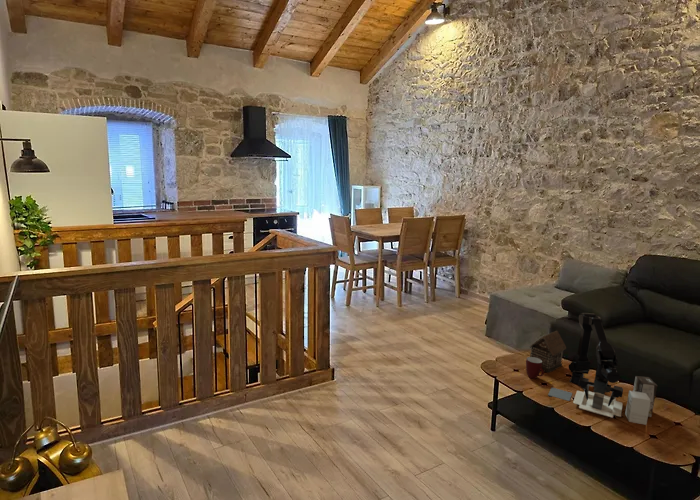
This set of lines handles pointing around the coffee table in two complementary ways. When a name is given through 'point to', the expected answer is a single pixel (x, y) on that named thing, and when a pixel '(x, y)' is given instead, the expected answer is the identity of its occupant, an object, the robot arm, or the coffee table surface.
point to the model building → (549, 351)
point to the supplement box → (637, 407)
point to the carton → (606, 410)
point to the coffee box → (646, 390)
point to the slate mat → (560, 394)
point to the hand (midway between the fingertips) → (597, 403)
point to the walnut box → (598, 401)
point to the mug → (534, 367)
